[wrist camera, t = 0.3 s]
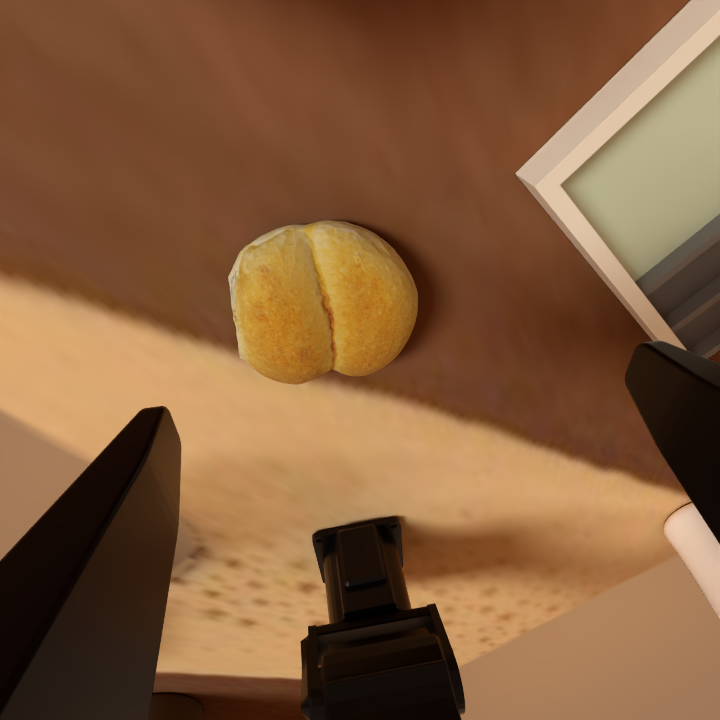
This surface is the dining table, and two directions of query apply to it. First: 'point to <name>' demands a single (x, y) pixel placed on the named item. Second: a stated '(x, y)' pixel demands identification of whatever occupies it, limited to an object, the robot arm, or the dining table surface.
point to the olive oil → (174, 707)
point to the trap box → (648, 181)
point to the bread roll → (321, 302)
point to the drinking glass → (696, 550)
